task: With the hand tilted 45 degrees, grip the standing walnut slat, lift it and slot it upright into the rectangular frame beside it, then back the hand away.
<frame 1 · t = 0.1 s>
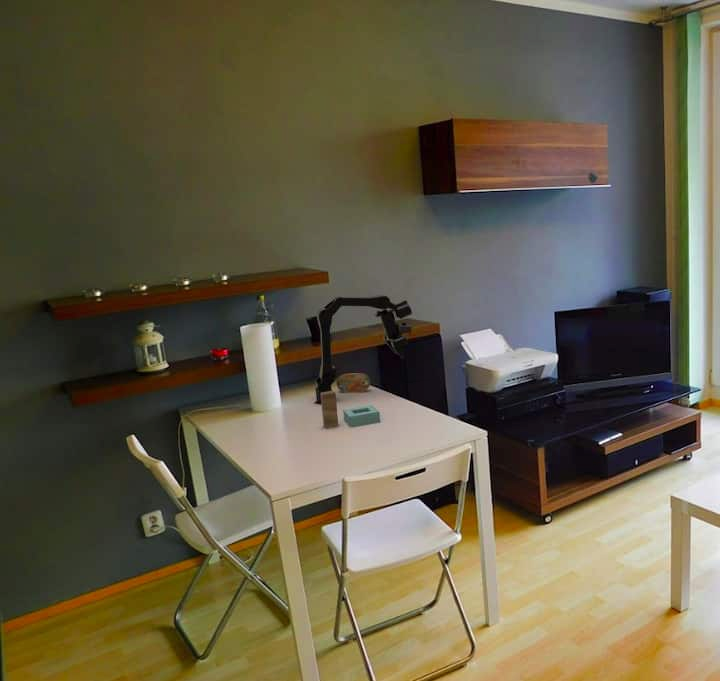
hand: (400, 356, 263), 15 cm above the table, tool pointing down, fingers open, 9 cm apart
slat: (331, 426, 227), on the table
rectangular frame: (361, 420, 230), on the table
tin: (354, 392, 272), on the table
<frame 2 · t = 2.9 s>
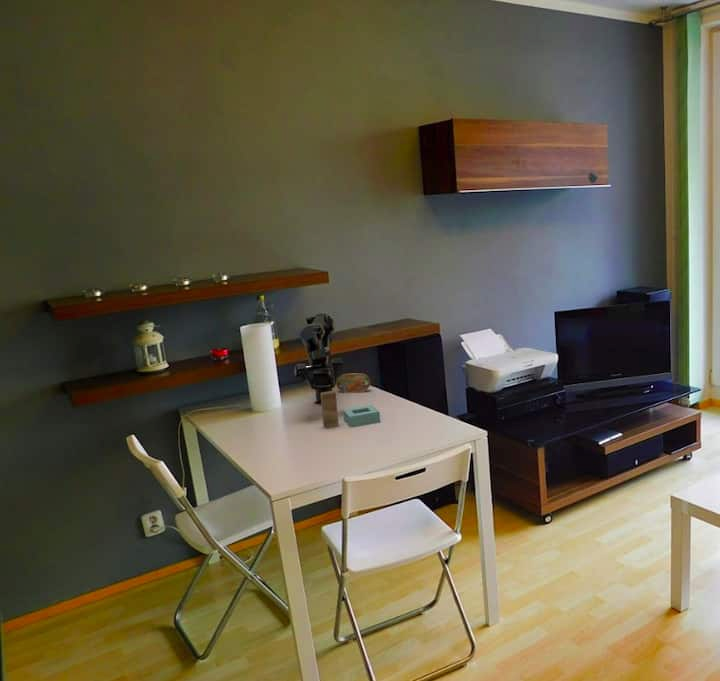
hand: (324, 386, 232), 14 cm above the table, tool tilted 45°, fingers open, 9 cm apart
nothing on the table moved.
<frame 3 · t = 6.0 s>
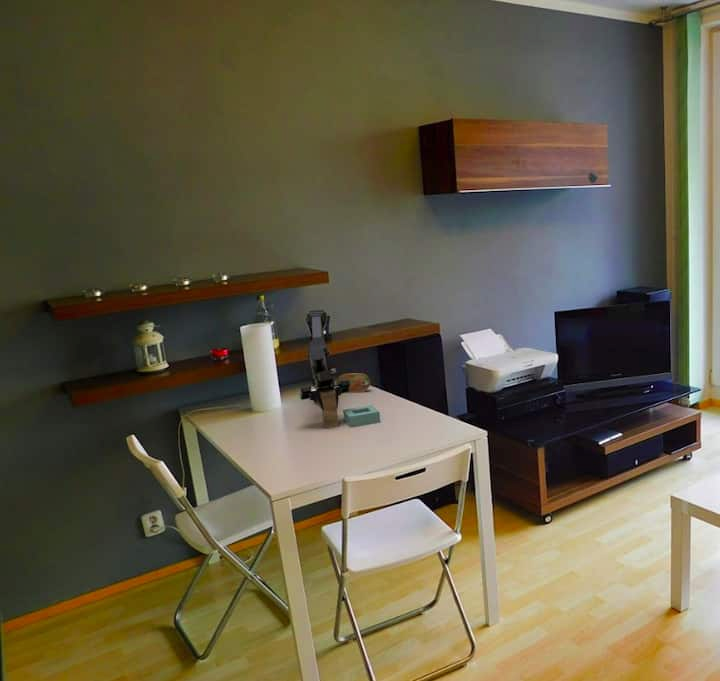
hand: (330, 408, 224), 7 cm above the table, tool tilted 45°, fingers closed on slat, 5 cm apart
slat: (331, 426, 227), on the table, touching gripper
everything else where it was.
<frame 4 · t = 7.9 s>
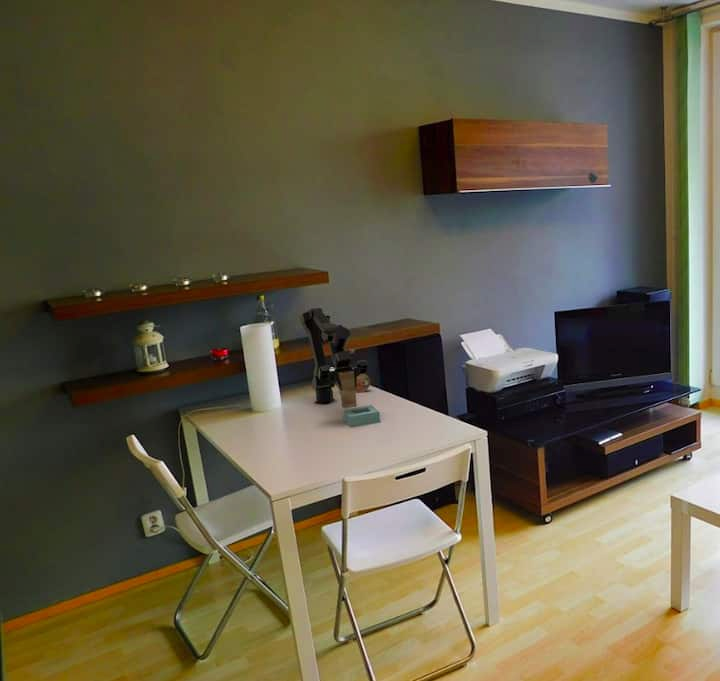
hand: (348, 389, 225), 14 cm above the table, tool tilted 45°, fingers closed on slat, 5 cm apart
slat: (349, 406, 228), point 6 cm above the table, touching gripper
everything else where it was.
when the fingers open (8 cm above the table, at t = 10.0 s): slat stays where it is, resting in rectangular frame.
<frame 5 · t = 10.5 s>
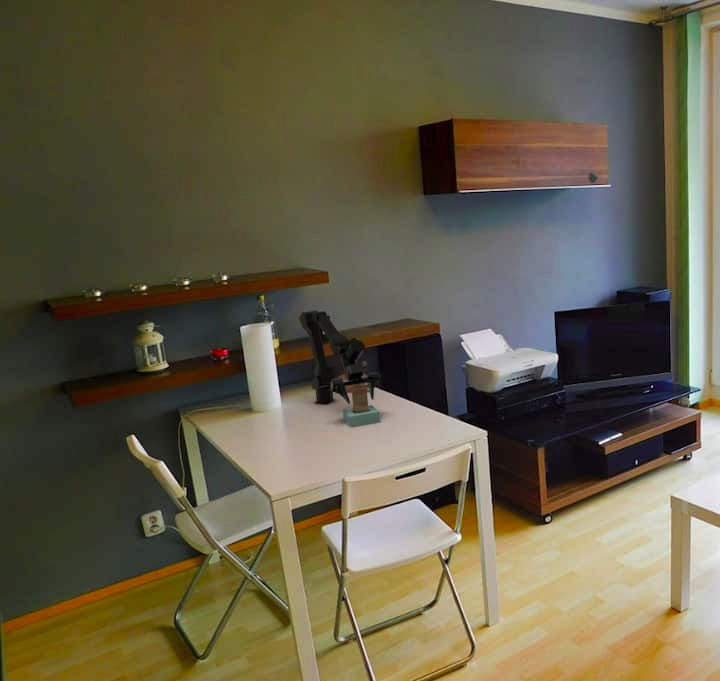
hand: (361, 401, 227), 8 cm above the table, tool tilted 45°, fingers open, 9 cm apart
slat: (361, 420, 230), resting in rectangular frame
everything else where it was.
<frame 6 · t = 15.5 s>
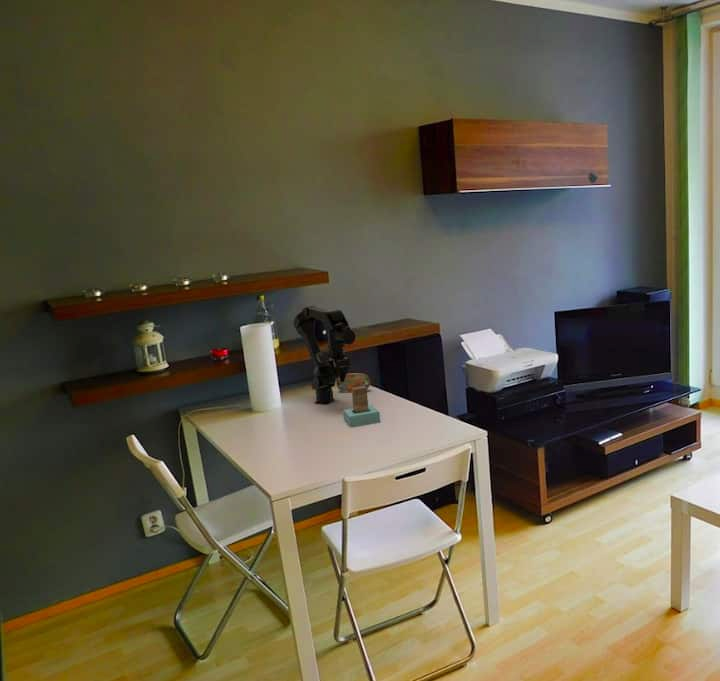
hand: (339, 379, 246), 12 cm above the table, tool pointing down, fingers open, 9 cm apart
nothing on the table moved.
at the end: slat 0.0 cm off-centre on the rectangular frame, point 0.0 cm above the rectangular frame's base; slat tilted 0°; the gripper is holding nothing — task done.
